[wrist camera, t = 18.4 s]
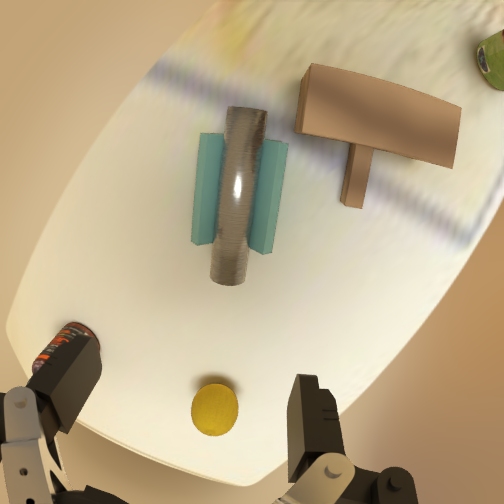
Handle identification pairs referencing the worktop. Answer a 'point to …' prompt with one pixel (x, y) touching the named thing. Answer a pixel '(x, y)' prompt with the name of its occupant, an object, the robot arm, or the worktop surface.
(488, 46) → the beverage can
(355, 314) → the worktop surface
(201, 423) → the lemon
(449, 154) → the brown wooden block
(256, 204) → the v block
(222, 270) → the axle
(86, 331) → the supplement bottle
